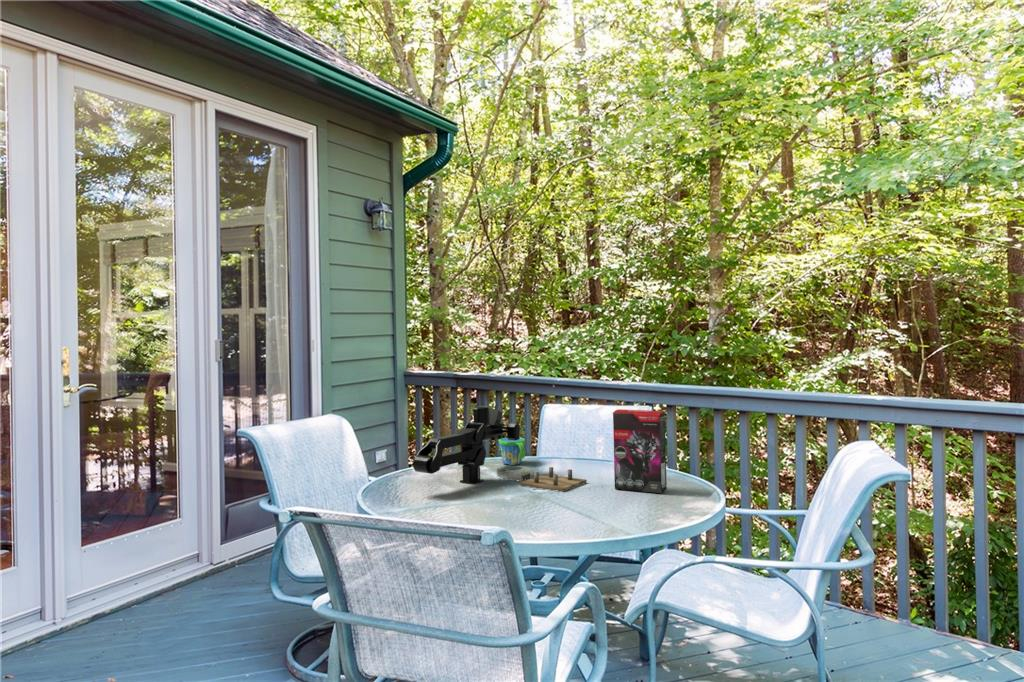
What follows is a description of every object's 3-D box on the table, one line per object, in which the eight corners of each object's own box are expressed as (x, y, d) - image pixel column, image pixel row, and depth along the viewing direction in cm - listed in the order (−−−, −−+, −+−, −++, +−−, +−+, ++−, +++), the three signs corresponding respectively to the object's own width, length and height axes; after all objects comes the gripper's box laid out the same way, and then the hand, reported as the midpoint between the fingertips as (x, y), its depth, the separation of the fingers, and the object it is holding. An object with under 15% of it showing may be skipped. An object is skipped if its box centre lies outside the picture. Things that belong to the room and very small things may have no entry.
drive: (522, 482, 261) (522, 471, 261) (497, 478, 268) (496, 467, 268) (532, 479, 267) (531, 468, 267) (507, 475, 273) (507, 464, 273)
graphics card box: (612, 490, 246) (611, 410, 245) (619, 485, 252) (618, 408, 251) (661, 494, 238) (660, 413, 237) (667, 490, 244) (666, 410, 243)
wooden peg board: (563, 491, 244) (562, 478, 244) (520, 485, 255) (519, 472, 255) (586, 482, 257) (586, 469, 257) (544, 477, 268) (544, 464, 268)
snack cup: (532, 465, 289) (532, 440, 289) (509, 468, 284) (509, 443, 284) (514, 459, 303) (514, 435, 303) (492, 462, 298) (491, 437, 298)
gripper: (506, 413, 264) (530, 408, 277) (467, 410, 275) (492, 405, 288) (506, 443, 265) (530, 437, 277) (467, 438, 276) (492, 433, 288)
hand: (511, 427), depth 283 cm, fingers open, 9 cm apart
